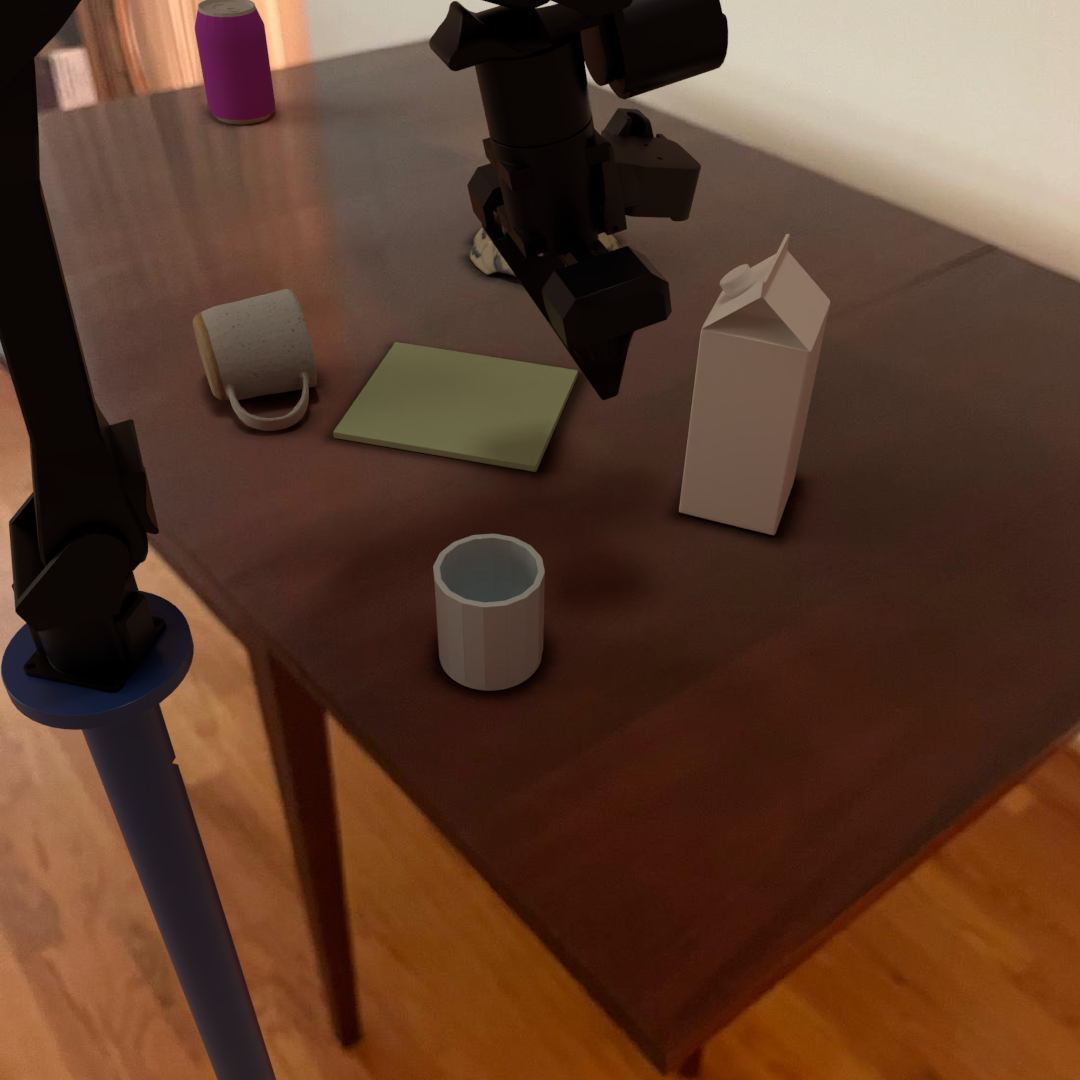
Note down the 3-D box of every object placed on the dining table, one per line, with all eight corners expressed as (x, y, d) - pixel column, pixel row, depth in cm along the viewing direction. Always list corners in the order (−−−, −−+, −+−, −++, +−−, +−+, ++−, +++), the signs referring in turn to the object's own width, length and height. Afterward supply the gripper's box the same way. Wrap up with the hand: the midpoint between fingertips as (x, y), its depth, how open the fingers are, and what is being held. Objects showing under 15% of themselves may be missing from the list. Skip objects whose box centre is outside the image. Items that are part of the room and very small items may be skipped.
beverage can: (290, 112, 136) (276, 3, 128) (244, 132, 131) (227, 19, 123) (242, 98, 139) (225, -9, 131) (195, 116, 134) (175, 6, 126)
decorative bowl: (442, 240, 113) (518, 303, 104) (441, 203, 111) (518, 265, 102) (570, 211, 120) (652, 269, 110) (572, 176, 117) (656, 232, 108)
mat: (333, 438, 87) (332, 431, 87) (395, 347, 98) (395, 341, 97) (536, 472, 85) (536, 465, 85) (578, 376, 95) (578, 370, 95)
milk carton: (794, 482, 86) (842, 243, 73) (774, 538, 81) (822, 292, 68) (702, 460, 87) (734, 223, 74) (677, 514, 82) (707, 270, 69)
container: (425, 679, 69) (418, 594, 64) (456, 609, 74) (453, 525, 69) (527, 700, 68) (528, 615, 64) (552, 627, 73) (555, 544, 68)
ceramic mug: (200, 374, 93) (182, 288, 88) (299, 355, 96) (287, 271, 91) (229, 446, 86) (211, 358, 81) (335, 423, 89) (324, 337, 84)
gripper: (752, 144, 57) (762, 394, 68) (612, 27, 70) (640, 255, 81) (545, 212, 55) (591, 457, 67) (440, 80, 68) (493, 305, 79)
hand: (582, 358), depth 73 cm, fingers open, 9 cm apart
